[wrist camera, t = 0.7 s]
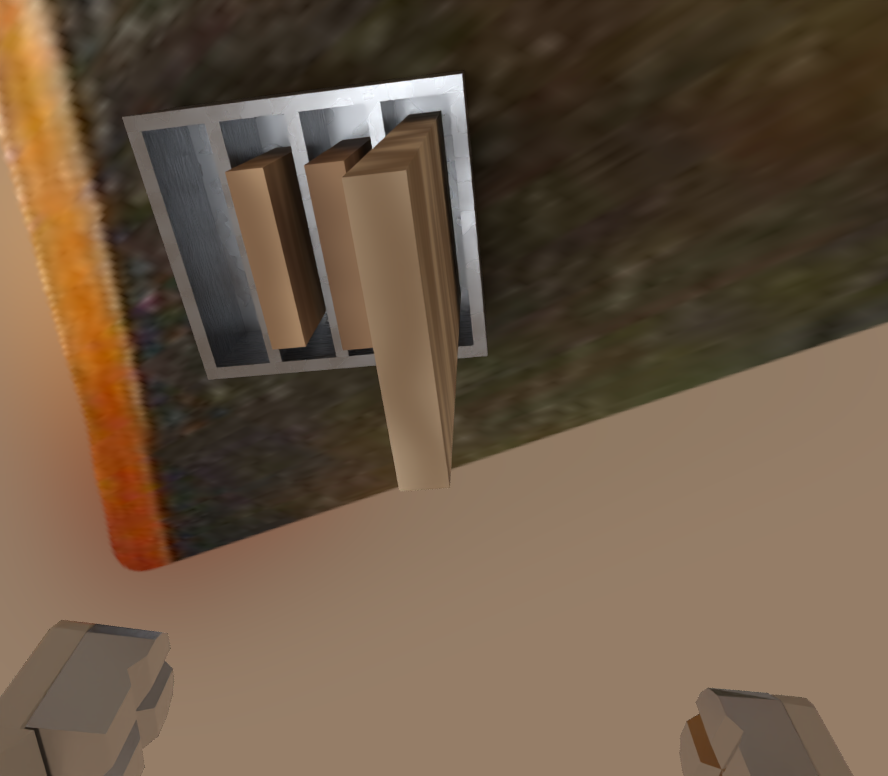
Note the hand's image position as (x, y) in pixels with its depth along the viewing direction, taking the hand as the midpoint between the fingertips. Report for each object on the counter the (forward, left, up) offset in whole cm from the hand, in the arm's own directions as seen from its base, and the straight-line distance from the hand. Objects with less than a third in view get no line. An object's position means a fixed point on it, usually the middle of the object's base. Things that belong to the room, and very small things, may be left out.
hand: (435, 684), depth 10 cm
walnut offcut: (+6, 0, -35) cm, 36 cm away
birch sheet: (+2, 0, -36) cm, 36 cm away
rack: (+9, 0, -37) cm, 38 cm away
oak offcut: (+11, 0, -36) cm, 37 cm away
